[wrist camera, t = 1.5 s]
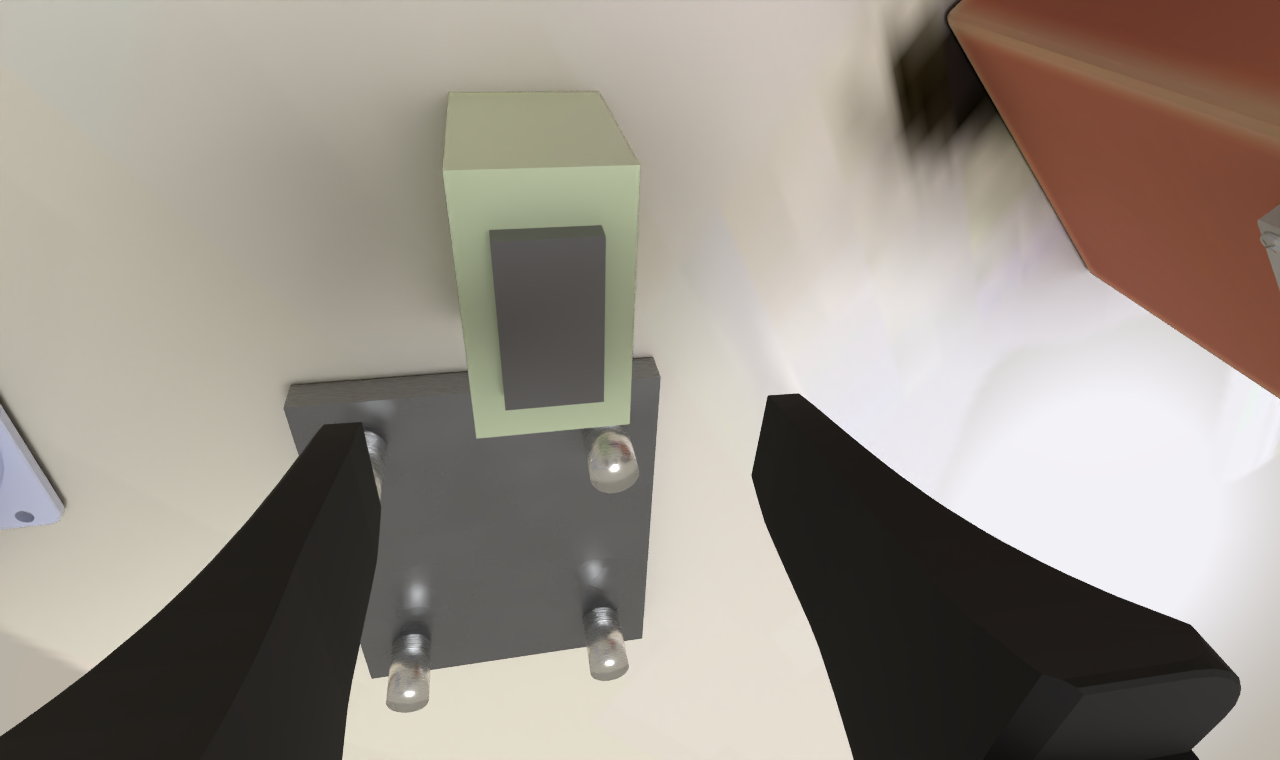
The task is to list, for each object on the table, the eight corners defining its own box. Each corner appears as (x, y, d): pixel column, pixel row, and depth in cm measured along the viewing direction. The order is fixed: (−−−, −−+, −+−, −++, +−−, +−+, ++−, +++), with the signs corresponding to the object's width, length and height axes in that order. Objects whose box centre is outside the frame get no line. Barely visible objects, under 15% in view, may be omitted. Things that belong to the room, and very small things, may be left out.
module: (474, 318, 23) (476, 454, 18) (448, 91, 19) (441, 181, 14) (597, 310, 24) (633, 438, 18) (598, 90, 19) (645, 175, 14)
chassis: (374, 654, 32) (365, 735, 29) (291, 385, 23) (265, 462, 20) (637, 616, 34) (653, 687, 31) (653, 357, 25) (677, 423, 22)
